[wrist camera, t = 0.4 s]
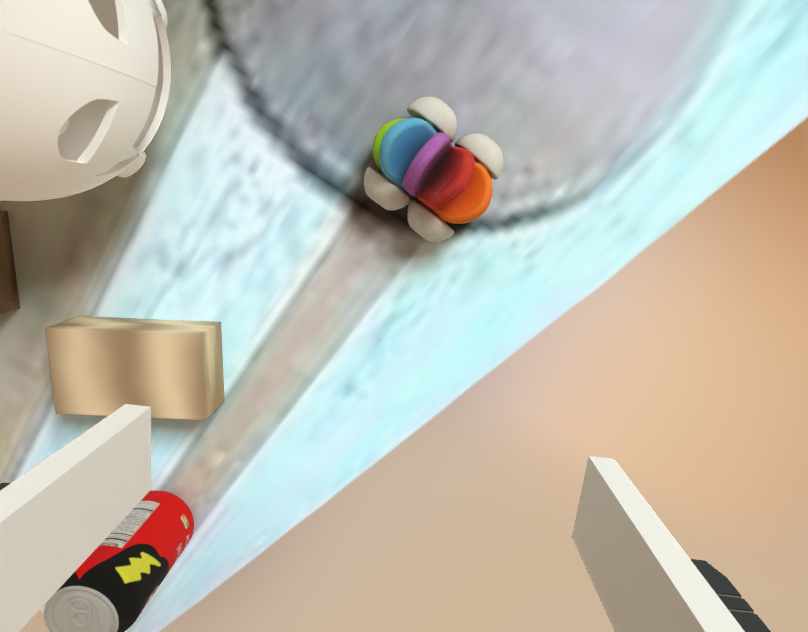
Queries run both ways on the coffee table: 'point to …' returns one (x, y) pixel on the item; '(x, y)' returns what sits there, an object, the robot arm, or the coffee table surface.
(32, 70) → the decorative ball
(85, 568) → the beverage can
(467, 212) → the rainbow disc baby toy
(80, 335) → the light wooden block
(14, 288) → the box
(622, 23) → the coffee table surface
